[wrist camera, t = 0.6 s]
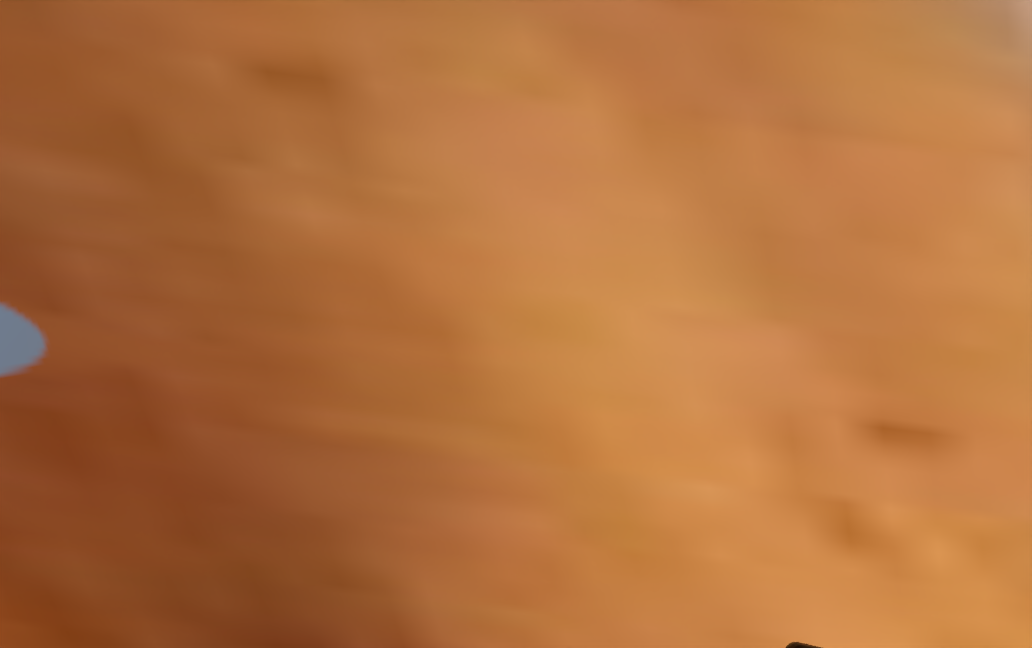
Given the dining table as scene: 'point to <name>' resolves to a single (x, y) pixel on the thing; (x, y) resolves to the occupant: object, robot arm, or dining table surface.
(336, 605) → the dining table surface
